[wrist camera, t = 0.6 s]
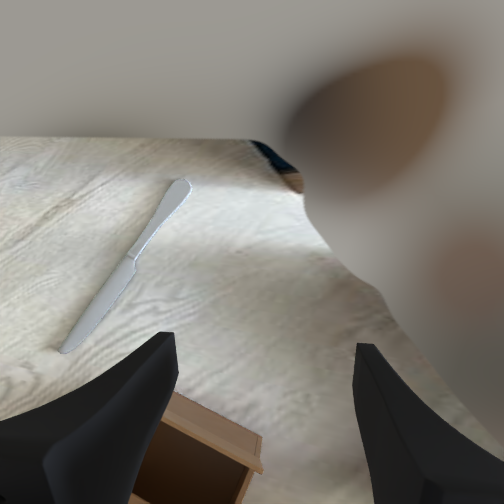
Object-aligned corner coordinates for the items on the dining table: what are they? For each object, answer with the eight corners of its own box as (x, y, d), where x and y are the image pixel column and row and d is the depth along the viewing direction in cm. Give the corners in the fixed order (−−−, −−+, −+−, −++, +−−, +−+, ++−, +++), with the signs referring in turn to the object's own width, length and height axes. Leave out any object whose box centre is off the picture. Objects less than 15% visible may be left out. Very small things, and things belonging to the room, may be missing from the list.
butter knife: (197, 186, 44) (177, 174, 44) (69, 361, 40) (49, 346, 40) (198, 187, 44) (178, 176, 45) (71, 361, 40) (51, 346, 41)
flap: (140, 400, 31) (142, 396, 31) (258, 462, 29) (259, 458, 29) (117, 397, 25) (119, 393, 25) (262, 474, 24) (263, 470, 24)
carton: (167, 387, 39) (140, 398, 31) (262, 437, 37) (259, 461, 29) (106, 514, 36) (59, 561, 28) (205, 573, 35) (185, 640, 27)
